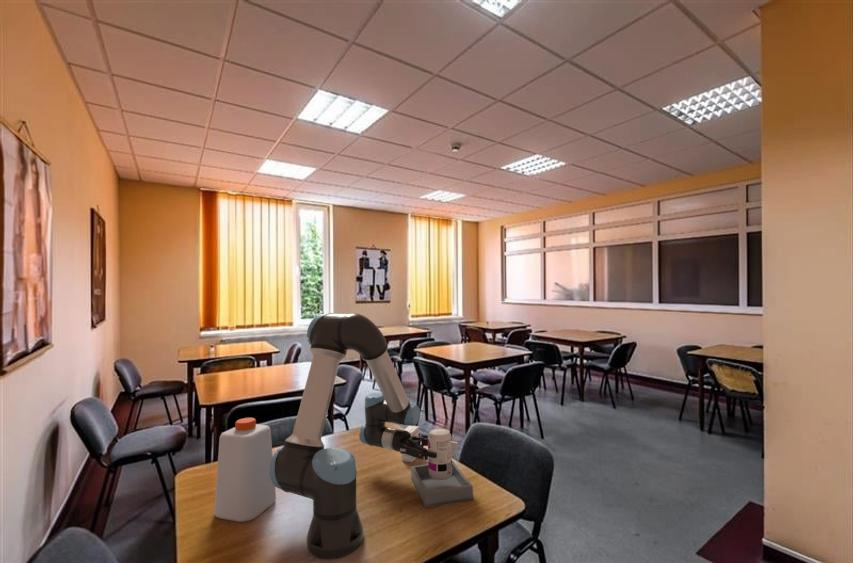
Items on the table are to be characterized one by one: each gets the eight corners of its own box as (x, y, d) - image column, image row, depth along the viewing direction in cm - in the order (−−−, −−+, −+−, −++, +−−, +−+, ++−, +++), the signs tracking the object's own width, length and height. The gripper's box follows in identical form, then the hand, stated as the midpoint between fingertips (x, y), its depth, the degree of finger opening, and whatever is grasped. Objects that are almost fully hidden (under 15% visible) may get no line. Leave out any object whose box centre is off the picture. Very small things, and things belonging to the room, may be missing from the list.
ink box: (409, 452, 164) (408, 424, 164) (420, 454, 162) (419, 425, 162) (401, 461, 156) (400, 431, 156) (412, 462, 154) (412, 433, 154)
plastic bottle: (281, 499, 128) (280, 414, 129) (248, 526, 113) (247, 430, 114) (244, 493, 132) (243, 411, 133) (207, 518, 118) (207, 426, 119)
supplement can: (425, 479, 130) (424, 434, 131) (432, 468, 138) (431, 426, 139) (449, 482, 128) (447, 437, 128) (454, 471, 136) (453, 428, 136)
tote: (472, 499, 125) (472, 485, 125) (425, 508, 121) (425, 493, 121) (452, 472, 145) (452, 460, 145) (411, 478, 140) (411, 466, 140)
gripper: (412, 440, 151) (464, 451, 140) (380, 461, 133) (438, 475, 122) (411, 421, 151) (464, 430, 140) (379, 439, 133) (437, 452, 122)
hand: (452, 451), depth 131 cm, fingers closed on supplement can, 8 cm apart
